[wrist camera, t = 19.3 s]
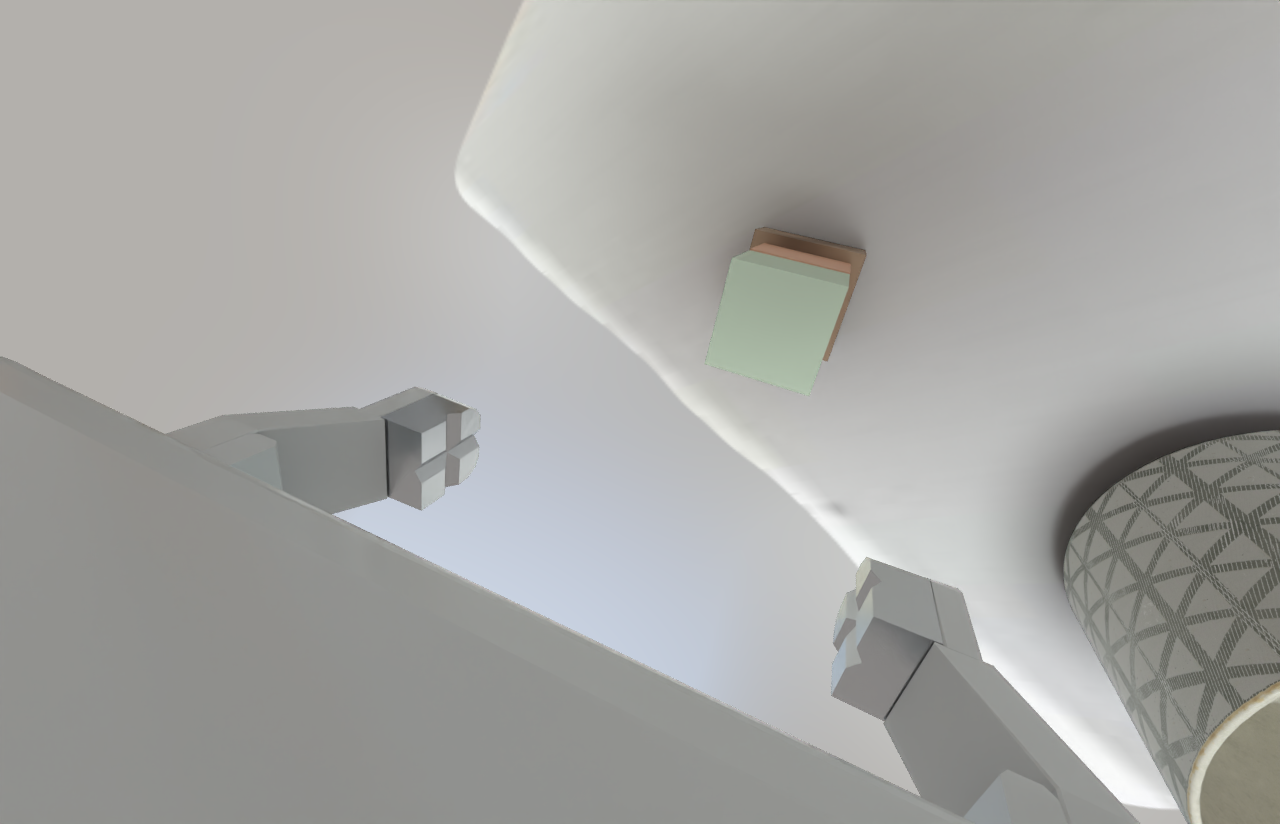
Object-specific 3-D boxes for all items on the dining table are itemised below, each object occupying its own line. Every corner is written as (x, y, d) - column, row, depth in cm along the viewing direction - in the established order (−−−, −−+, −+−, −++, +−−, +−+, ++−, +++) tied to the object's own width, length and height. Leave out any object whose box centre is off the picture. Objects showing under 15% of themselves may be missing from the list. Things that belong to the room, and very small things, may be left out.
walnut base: (865, 250, 35) (866, 255, 31) (829, 347, 38) (827, 361, 34) (764, 227, 37) (755, 229, 33) (738, 321, 40) (727, 332, 36)
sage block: (849, 274, 27) (848, 286, 23) (815, 368, 30) (809, 396, 26) (750, 250, 29) (731, 257, 25) (725, 342, 31) (704, 363, 27)
